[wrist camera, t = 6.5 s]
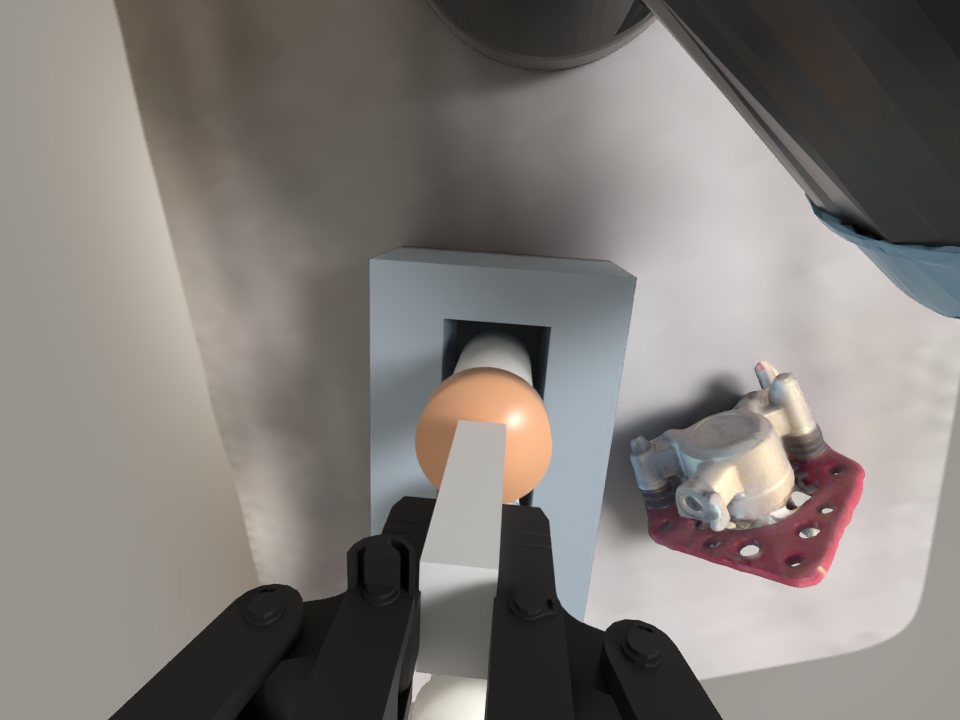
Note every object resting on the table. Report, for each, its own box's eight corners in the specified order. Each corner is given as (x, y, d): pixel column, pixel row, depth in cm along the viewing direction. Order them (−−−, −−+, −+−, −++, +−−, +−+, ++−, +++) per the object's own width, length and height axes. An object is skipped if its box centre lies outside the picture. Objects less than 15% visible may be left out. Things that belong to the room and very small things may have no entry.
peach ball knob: (451, 317, 25) (416, 376, 16) (545, 324, 24) (559, 388, 16) (447, 404, 26) (413, 500, 18) (536, 412, 26) (545, 512, 17)
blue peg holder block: (403, 246, 30) (369, 258, 23) (609, 260, 29) (637, 278, 22) (398, 581, 37) (371, 665, 30) (563, 598, 36) (573, 688, 30)
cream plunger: (440, 556, 29) (408, 700, 20) (520, 564, 29) (521, 713, 20) (437, 620, 30) (406, 780, 22) (514, 628, 30) (512, 793, 22)
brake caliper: (676, 594, 33) (686, 629, 22) (608, 435, 37) (588, 398, 26) (860, 536, 30) (972, 543, 20) (765, 375, 35) (814, 307, 24)
